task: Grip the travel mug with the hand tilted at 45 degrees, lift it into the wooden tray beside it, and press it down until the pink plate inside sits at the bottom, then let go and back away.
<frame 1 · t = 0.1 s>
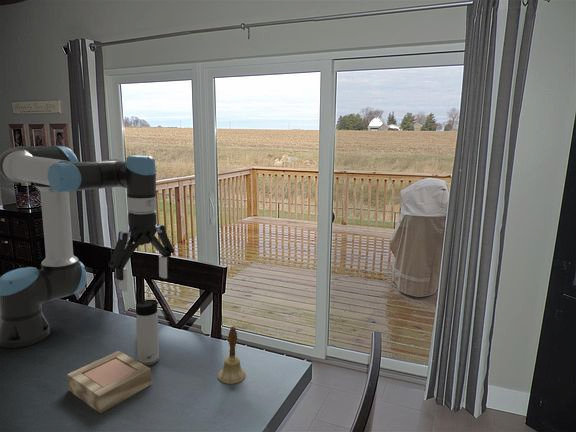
hand: (144, 283, 117), 28 cm above the table, tool pointing down, fingers open, 13 cm apart
pink plate: (110, 374, 113), point 4 cm above the table, slide at 3.0 cm
travel mug: (149, 361, 128), on the table
hand bell: (231, 376, 122), on the table
wooden tray: (110, 387, 114), on the table
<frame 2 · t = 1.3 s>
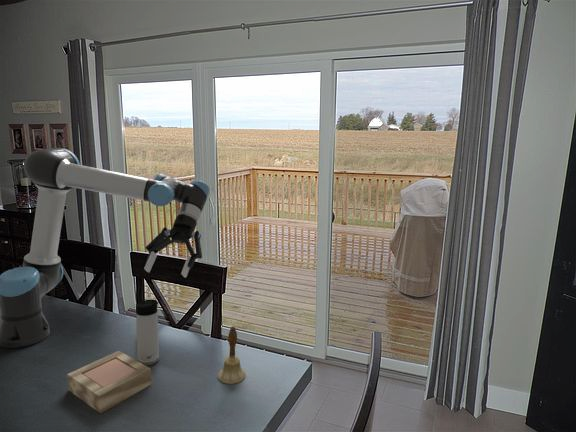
hand: (164, 273, 132), 26 cm above the table, tool tilted 45°, fingers open, 13 cm apart
nothing on the table moved.
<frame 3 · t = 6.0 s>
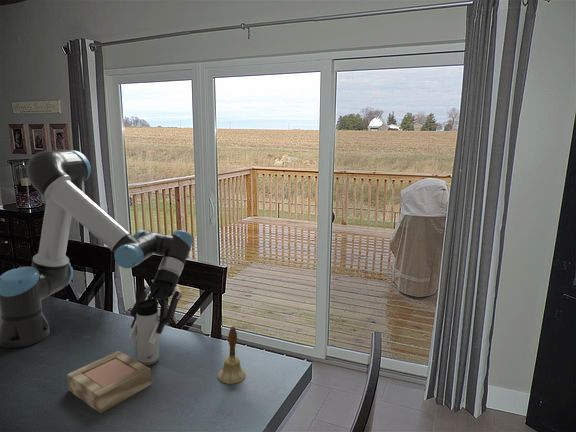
hand: (141, 341, 123), 8 cm above the table, tool tilted 45°, fingers closed on travel mug, 6 cm apart
travel mug: (149, 360, 128), on the table, touching gripper
everything else where it was.
when the fingers open (10 cm above the table, at t = 13.0 s): travel mug stays where it is, resting on pink plate.
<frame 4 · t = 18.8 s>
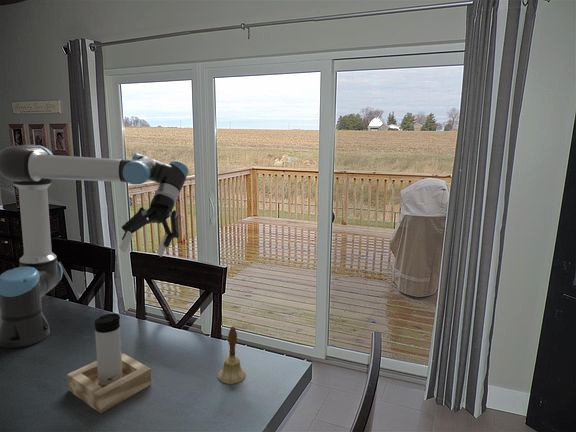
hand: (140, 252, 130), 33 cm above the table, tool tilted 45°, fingers open, 13 cm apart
pink plate: (110, 384, 114), point 1 cm above the table, slide at -0.2 cm, touching travel mug
travel mug: (111, 382, 114), point 1 cm above the table, touching pink plate
everything else where it was.
at the end: pink plate slide at -0.2 cm; travel mug 0.2 cm off-centre on the wooden tray, point 1.5 cm above the wooden tray's base; travel mug tilted 0° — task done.
